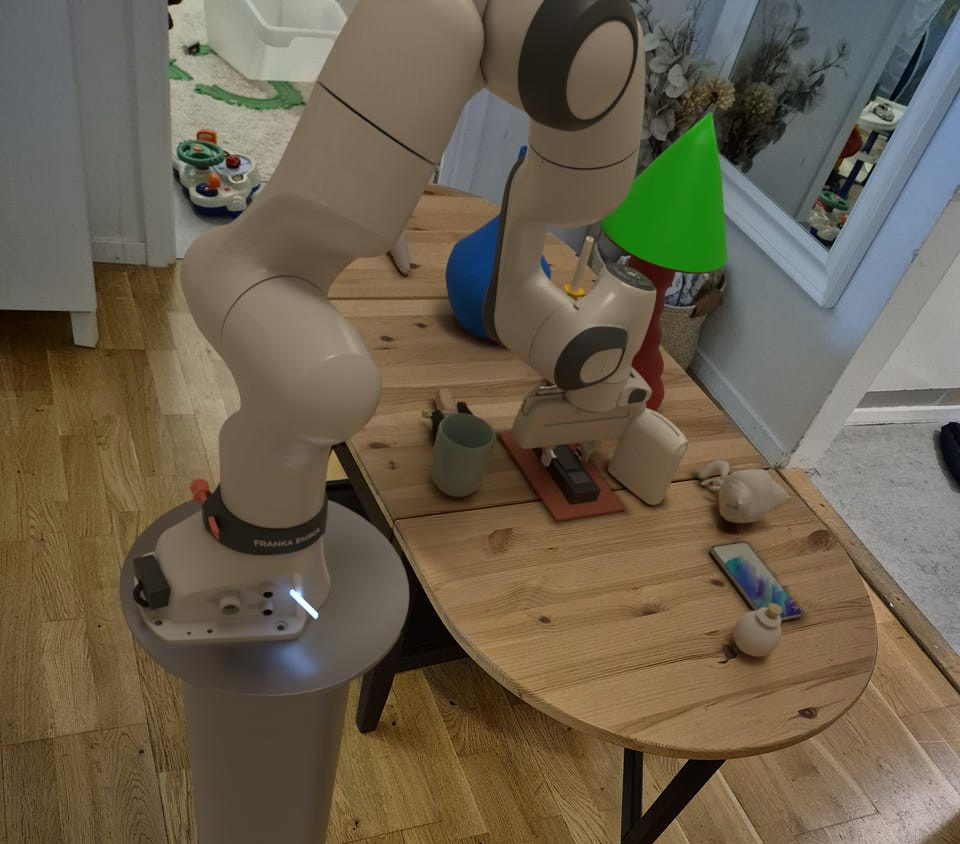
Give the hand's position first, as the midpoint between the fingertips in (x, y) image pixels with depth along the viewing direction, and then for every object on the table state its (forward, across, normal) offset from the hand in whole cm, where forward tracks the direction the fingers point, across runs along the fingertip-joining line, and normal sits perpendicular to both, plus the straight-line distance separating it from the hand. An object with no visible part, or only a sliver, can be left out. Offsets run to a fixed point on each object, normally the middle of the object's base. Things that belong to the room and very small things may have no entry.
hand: (564, 461), depth 125 cm
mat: (+2, 0, 0) cm, 2 cm away
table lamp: (+2, +17, +16) cm, 23 cm away
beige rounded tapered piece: (+2, +24, -12) cm, 27 cm away
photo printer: (+2, +11, -5) cm, 12 cm away
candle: (+2, +24, +42) cm, 48 cm away
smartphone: (+2, +18, -28) cm, 33 cm away
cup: (+2, -18, 0) cm, 18 cm away
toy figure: (+2, -14, +12) cm, 19 cm away
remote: (+2, 0, 0) cm, 2 cm away
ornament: (+2, +10, -38) cm, 39 cm away
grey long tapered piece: (+2, 0, +70) cm, 70 cm away
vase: (+2, +6, +40) cm, 41 cm away
